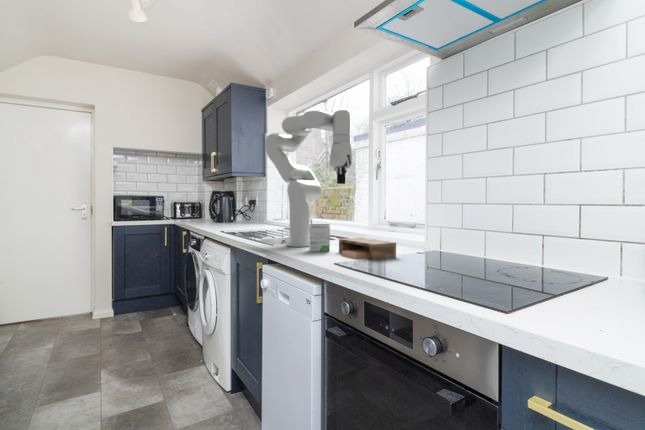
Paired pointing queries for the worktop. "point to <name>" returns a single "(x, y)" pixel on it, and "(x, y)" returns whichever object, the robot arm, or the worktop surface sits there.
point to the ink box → (319, 237)
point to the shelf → (376, 247)
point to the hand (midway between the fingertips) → (341, 183)
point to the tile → (356, 253)
